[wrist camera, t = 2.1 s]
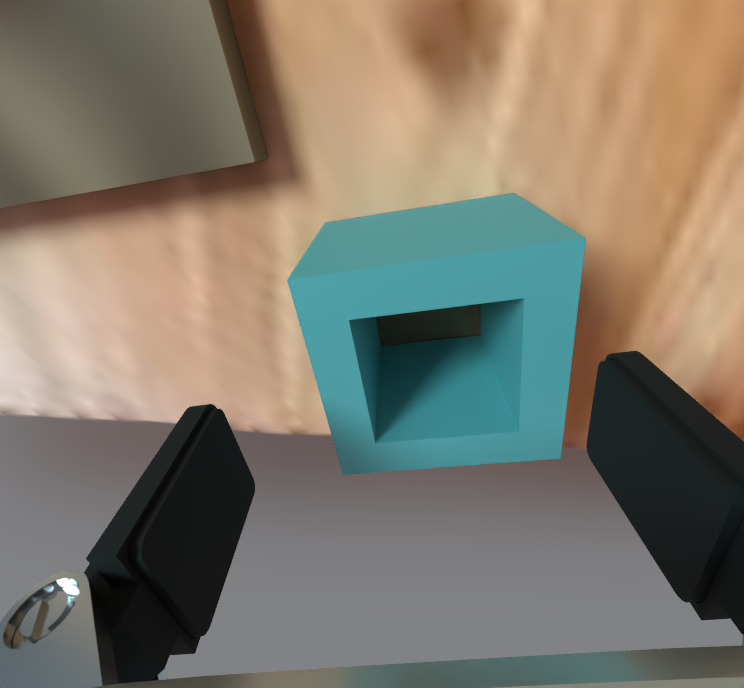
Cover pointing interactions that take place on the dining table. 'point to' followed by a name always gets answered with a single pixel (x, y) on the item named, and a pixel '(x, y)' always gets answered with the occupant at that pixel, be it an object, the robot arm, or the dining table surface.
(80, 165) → the post board
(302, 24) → the dining table surface
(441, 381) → the collar
